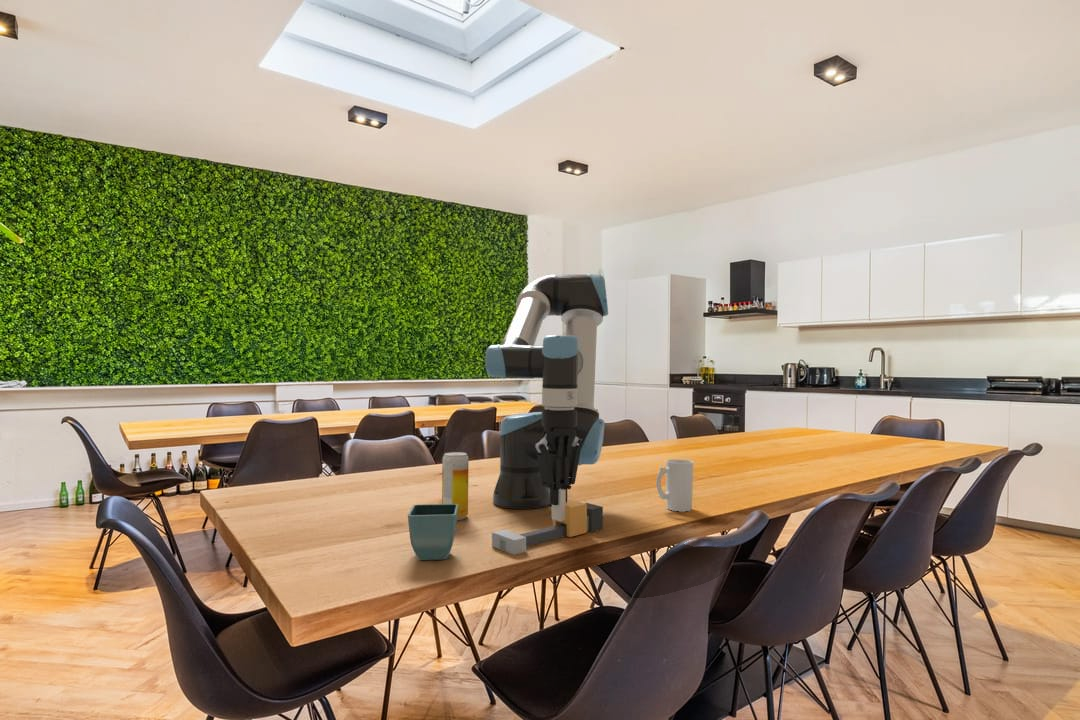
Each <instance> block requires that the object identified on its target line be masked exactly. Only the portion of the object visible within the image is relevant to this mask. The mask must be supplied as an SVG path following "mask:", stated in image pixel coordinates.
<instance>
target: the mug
mask: <svg viewBox="0 0 1080 720" xmlns="http://www.w3.org/2000/svg"><path fill="white" fill-rule="evenodd" d="M664 474H665V490H666V491H665V492H664V491H663V488H662V483H661V482H662V477H663V476H664ZM693 483H694V461H693V460H688V459H679V458H677V459H675V458H674V459H667V460H665V467H664V466H660V467H659V471H658V474H657V476H656V489H657V492H658V495H659V498H660V499H661V500H665V501H666V509H667V510H668V509H669V510H668V511H671V510H672V512H676V511H679V513H684V512H685V511H688V512H691V511H692V509H693V491H694V490H693V487H694V486H693V485H694V484H693ZM685 513H686V512H685Z"/></svg>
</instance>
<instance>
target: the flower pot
mask: <svg viewBox="0 0 1080 720" xmlns="http://www.w3.org/2000/svg"><path fill="white" fill-rule="evenodd" d="M410 508H411V509H410V510H409V512H408V514H407V523H408V530H409V539H410V544H411V547H412V550H413V552H414V554H415V556H416V558H417V559H418V560H419V561H427V560H428V561H434V560H435V561H436V560H447V559H448V558H449V555H450V553H451V551H452V548H453V545H454V540H455V535H456V530H457V522H458V520H457V513H458V504H442V503H439V504H438V503H437V504H436V503H435V504H433V503H429V504H428V503H427V504H413V505H412V507H410Z"/></svg>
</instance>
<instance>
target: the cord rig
mask: <svg viewBox="0 0 1080 720" xmlns="http://www.w3.org/2000/svg"><path fill="white" fill-rule="evenodd" d="M585 503H586V504H587V532H589V531H590V532H589V533H594V532H593V531H595V532H598V531H597V530H599V531H602V530H601V529H603V525H604V524H603V523H604V519H603V517H604V512H603V511H604V507H603V506H601V505H597V504H593V503H589V502H585ZM564 537H568V536H567V524H561V525H557V526H553V525H552V526H548V527H544V528H541V529H535V530H533V531H528V532H527V531H526V532H523V533H519V534H518V533H515V532H512V531H509V530H506V529H500V530H496V531H491V546H492V547H493V548H495V549H498V550H500V551H503V552H505V553H508V554H511V555H512V556H515V555H518V554H522V553H523V554H524V553H526V552H527V547H530V546H534V545H538V544H541V543H545V542H549V541H553V540H556V539H561V538H564Z"/></svg>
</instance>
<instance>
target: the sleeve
mask: <svg viewBox="0 0 1080 720" xmlns="http://www.w3.org/2000/svg"><path fill="white" fill-rule="evenodd" d="M586 503H587V502H581V501H577V500H573V499H571V498H570V499H568V498H567V503H566V505H565V520H564V521H557V520H554V519H552V526H557V525H561V524H567V536H566V537H570V538H571V537H575V536H579V535H583V534H586V533H587V532H588V531H587V504H586Z"/></svg>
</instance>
